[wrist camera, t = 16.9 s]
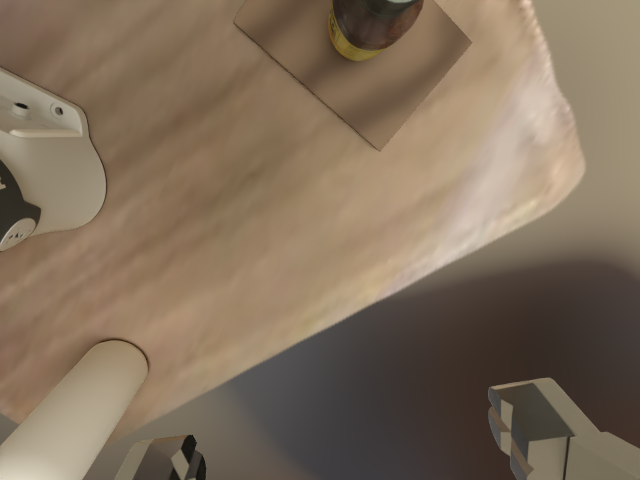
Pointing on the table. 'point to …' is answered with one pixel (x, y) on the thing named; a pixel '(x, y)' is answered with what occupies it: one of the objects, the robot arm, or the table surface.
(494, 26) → the table surface
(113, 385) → the alcohol
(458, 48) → the walnut board
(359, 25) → the sauce bottle
